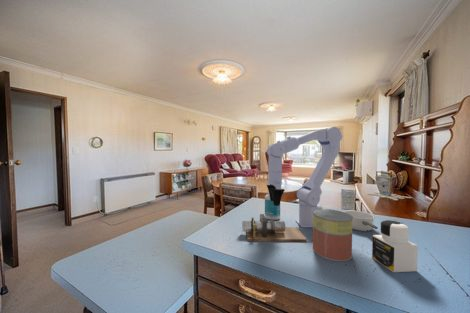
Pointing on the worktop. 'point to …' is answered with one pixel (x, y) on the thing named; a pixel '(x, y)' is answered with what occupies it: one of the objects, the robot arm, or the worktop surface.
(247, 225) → the air tube
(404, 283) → the worktop surface
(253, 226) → the brass index gate
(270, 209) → the pill bottle
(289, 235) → the walnut board
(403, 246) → the medicine bottle
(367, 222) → the saucepan
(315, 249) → the canned food
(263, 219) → the iron collar
